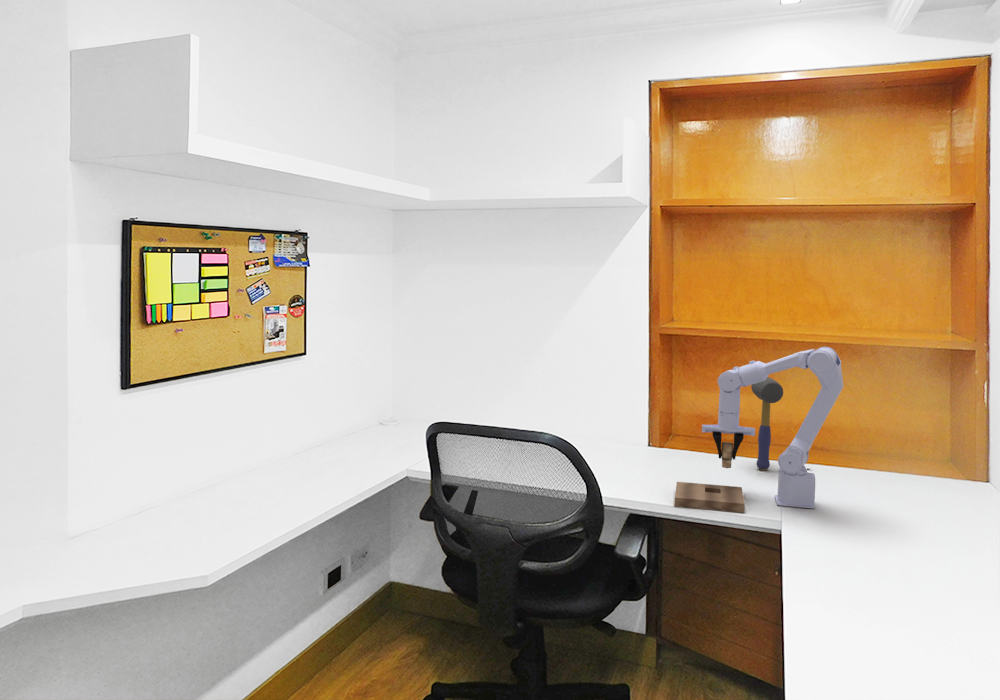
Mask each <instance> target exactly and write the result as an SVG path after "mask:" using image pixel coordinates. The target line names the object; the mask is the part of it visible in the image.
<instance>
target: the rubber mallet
mask: <svg viewBox="0 0 1000 700" xmlns="http://www.w3.org/2000/svg"><path fill="white" fill-rule="evenodd" d="M750 387H751V391H752V393H753V395H755V396H756V397H757V398H758V399H759V400H761V401H762V402H761V421H760V422H761V423H760V426H759V430H758V436H757V443H758V449H757V451H758V452H757V453H758V454H757V460H756V467H757V469H758V470H760V471H768V469H769V468H770V466H771V465H770V446H771V442H772V441H771V439H772V434H771V433H772V432H771V424H770V423H771V422H770V421H771V404H776V403H778V402H779V401H781V399H782V398H783V396H784V388H783V386H782V385H781V384H780V383H779V382H778V381H776V380H775V379H773V378H772V377H769V376H768V377H767V379H766V380H765V381H762V382H759V383H755V384H752V385H750Z"/></svg>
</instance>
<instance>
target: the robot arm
mask: <svg viewBox="0 0 1000 700" xmlns="http://www.w3.org/2000/svg"><path fill="white" fill-rule="evenodd" d="M795 367H796V368H800V369H803V370H806V369H808V368H809V370H810V371H811V372H812V373H813V374H814V375H815V376H816V378H817V379H818V381H819V383H820V386H821V387H820V390H819V392H818V393H817V396H816V398H815V400H814V401H813V403H812V405H811V406H810V408H809V410H808V412H807V414H806V416H805V418H804V420H803V421H802V423H801V425H800V427H799V429H798V431H797V433H796V434H795V436H794V438H793V439H792V441H791V442H790V444H789V445H788V447H786V449H785V450H784V451H782V453H780V455H779V456H778V459H777V461H778V462H777V464H778V478H777V479H778V481H777V483H778V484H777V494H775V495H774V500H775V502H776V505H777V506H781V507H793V508H794V507H795V508H802V509H803V508H804V509H815V499H816V476H815V473H814V472H808V469H807V468H806V466H805V465H806V464H807V462H808V461H809V452H810V449H811V448H812V446H813V443H814V441H815V439H816V437H817V436H818V434H819V432H820V430H821V429H822V427H823V425H824V423H825V421H826V420H827V418H828V415H829V414H830V412H831V410H832V408H833V406H834V405H835V403H836V401H837V399H838V397H839V396H840V394H841V393H842V390H843V388H844V379H843V372H842V361H841V359H840V357H839V355H838V353H837V352H836V350H834V348H831V347H829V346H821V347H818V348H817V349H816V348H812V349H811V348H810V349H807V350H801V351H798V352H795V353H792V354H790V355H787V356H784V357H781V358H779V359H776V360H772V361H769V362H766V363H765V362H762V361H760V360H757V361H756V360H750V361H749V362H748V364H745V365H742V366H737V365H736V366H734V367H733V368H732V369H729V370H725V371H724V372H722V373H721V374H720V375H719V376H718V377H717V385H718V387H719V395H718V396H719V397H718V415H717V416H718V417H717V419H718V420H717V424H701V433H704V434H705V433H712V438H713V440H714V442H715V445H716V449H717V453H718V454H717V455H718V459H722V457H721V449H722V434H727V435H733V458H732V460H733V461H734V460H736V457H737V453H738V449H739V447H740V446H741V444H742V442H743V440H744V437H745V436H751V437H755V436H756V428H755V427H749V426H748V427H747V426H741V425H740V410H741V409H740V407H741V387H742V388H745V387H749V386H751V385H752V384H755V383H759V382H762V381H765V380H766V379H767V377H769V375H771V374H775V373H779V372H782V371H785V370H789V369H793V368H795Z"/></svg>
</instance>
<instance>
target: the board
mask: <svg viewBox="0 0 1000 700" xmlns="http://www.w3.org/2000/svg"><path fill="white" fill-rule="evenodd" d="M744 498H745V497H744V493H743V488H742V487H741V486H732V485H722V484H721V485H720V484H708V483H707V484H706V483H698V482H686V481H685V482H684V481H676V485H675V493H674V507H675V508H676V507H677V508H687V509H698V510H699V509H700V510H710V511H720V512H729V513H730V512H731V513H739V512H741V514H743V513H745V499H744ZM742 512H743V513H742Z"/></svg>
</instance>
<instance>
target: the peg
mask: <svg viewBox="0 0 1000 700" xmlns="http://www.w3.org/2000/svg"><path fill="white" fill-rule="evenodd" d="M733 447H734V442H729V441H721V468H724V469H731V468H732V460H733Z"/></svg>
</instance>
